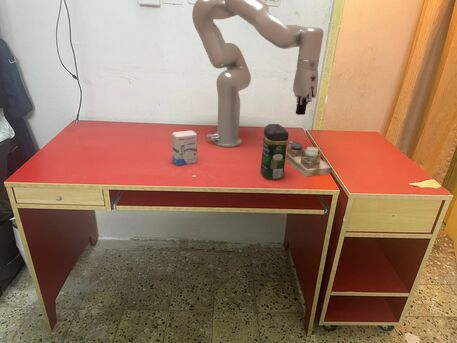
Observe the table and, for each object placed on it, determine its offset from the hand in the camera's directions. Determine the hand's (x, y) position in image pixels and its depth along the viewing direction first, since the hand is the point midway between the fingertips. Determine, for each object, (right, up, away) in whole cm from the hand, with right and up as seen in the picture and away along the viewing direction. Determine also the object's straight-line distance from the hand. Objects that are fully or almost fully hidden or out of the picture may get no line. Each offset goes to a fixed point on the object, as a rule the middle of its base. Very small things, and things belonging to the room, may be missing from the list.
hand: (300, 114), depth 131 cm
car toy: (+2, -9, +26) cm, 28 cm away
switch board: (+3, -19, +4) cm, 20 cm away
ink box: (-45, -19, +2) cm, 48 cm away
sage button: (+3, -19, -3) cm, 19 cm away
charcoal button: (-1, -15, +7) cm, 17 cm away
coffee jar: (-12, -23, -5) cm, 26 cm away
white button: (+5, -17, +4) cm, 18 cm away
